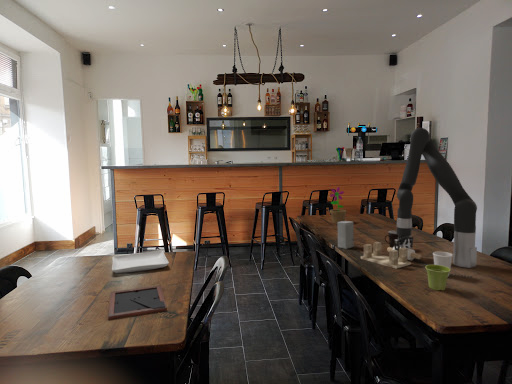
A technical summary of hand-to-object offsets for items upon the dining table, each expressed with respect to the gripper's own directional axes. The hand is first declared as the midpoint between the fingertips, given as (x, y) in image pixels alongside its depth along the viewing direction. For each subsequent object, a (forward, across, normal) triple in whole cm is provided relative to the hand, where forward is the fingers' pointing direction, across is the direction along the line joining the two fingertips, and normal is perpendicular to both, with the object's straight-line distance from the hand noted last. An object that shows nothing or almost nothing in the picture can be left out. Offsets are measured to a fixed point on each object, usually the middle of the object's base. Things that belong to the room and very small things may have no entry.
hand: (403, 256), depth 193 cm
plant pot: (+1, -28, -35) cm, 45 cm away
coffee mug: (+1, +13, +16) cm, 21 cm away
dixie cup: (+1, -10, -27) cm, 29 cm away
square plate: (+1, -121, +73) cm, 141 cm away
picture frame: (+2, -135, +24) cm, 138 cm away
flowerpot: (+1, +51, +97) cm, 110 cm away
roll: (+1, 0, 0) cm, 1 cm away
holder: (+1, -13, +2) cm, 13 cm away
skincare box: (+1, -6, +36) cm, 36 cm away
